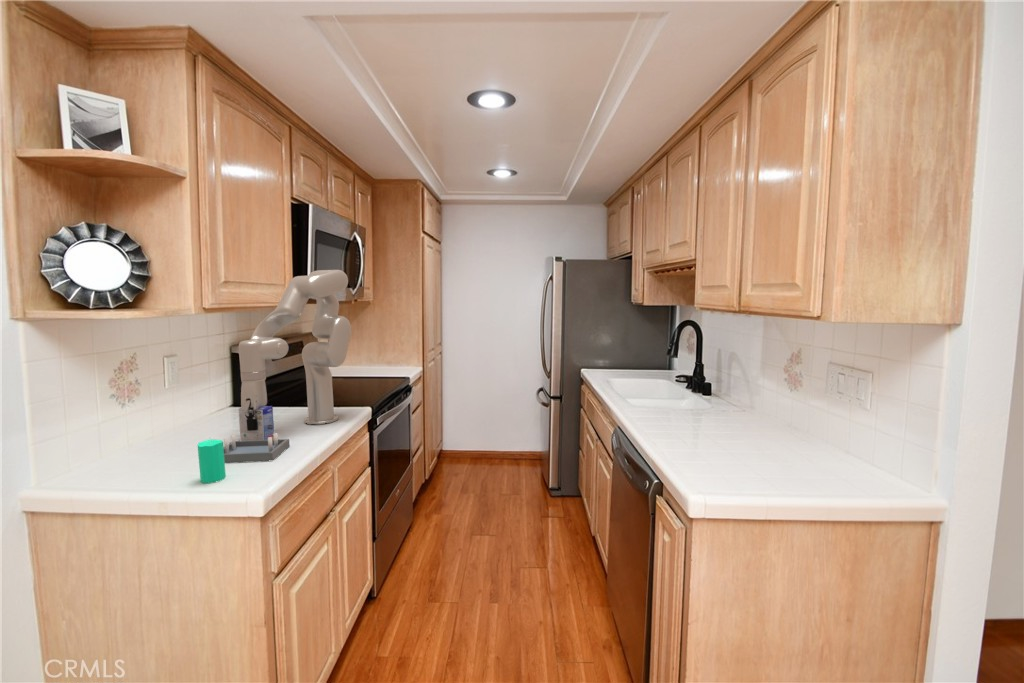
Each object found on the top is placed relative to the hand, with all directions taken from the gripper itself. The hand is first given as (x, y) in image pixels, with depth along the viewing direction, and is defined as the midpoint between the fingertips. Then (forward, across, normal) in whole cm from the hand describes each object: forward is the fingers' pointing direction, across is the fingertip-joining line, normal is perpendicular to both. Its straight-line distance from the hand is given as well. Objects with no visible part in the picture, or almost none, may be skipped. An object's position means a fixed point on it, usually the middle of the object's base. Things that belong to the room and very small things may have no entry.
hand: (257, 426), depth 170 cm
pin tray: (+5, +14, +4) cm, 15 cm away
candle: (+5, +34, +2) cm, 34 cm away
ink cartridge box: (+5, 0, 0) cm, 5 cm away
